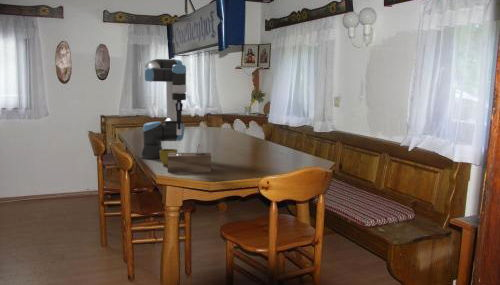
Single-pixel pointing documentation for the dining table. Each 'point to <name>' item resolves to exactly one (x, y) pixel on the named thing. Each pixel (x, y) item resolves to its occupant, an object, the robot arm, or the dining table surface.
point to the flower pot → (166, 155)
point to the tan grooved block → (189, 162)
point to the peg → (200, 149)
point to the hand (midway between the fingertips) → (179, 134)
